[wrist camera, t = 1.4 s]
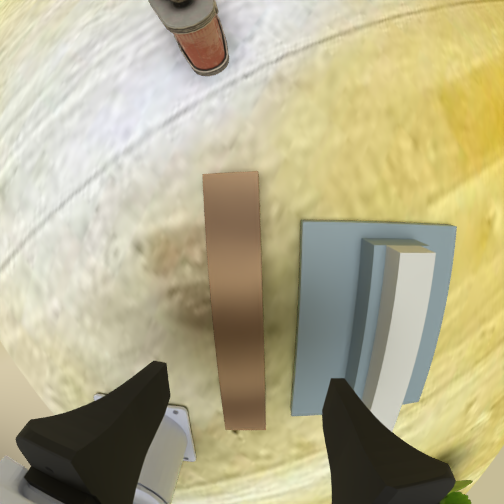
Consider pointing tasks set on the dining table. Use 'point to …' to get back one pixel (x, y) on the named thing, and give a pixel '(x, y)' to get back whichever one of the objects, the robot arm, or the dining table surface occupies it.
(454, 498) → the potted flower
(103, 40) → the dining table surface
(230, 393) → the walnut bar
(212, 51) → the lighter
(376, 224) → the ridge stand
